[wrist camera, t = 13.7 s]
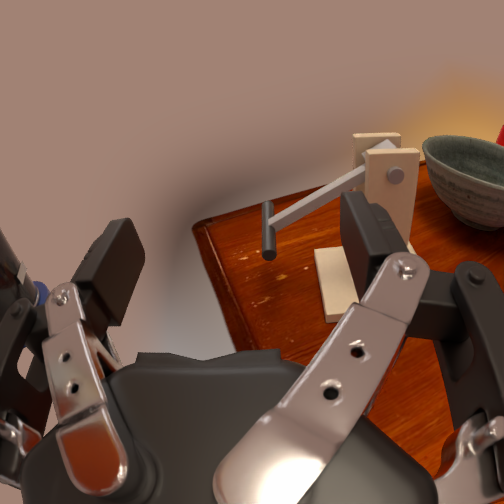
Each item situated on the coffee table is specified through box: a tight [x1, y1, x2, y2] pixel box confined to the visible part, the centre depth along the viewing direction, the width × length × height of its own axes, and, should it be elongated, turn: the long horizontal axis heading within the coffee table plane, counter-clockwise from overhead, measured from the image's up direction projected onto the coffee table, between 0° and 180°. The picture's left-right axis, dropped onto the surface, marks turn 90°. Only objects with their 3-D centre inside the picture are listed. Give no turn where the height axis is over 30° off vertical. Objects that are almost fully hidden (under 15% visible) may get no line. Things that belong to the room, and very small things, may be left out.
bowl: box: [422, 135, 504, 231], centre depth 36 cm, size 21×21×10 cm
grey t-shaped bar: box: [262, 139, 397, 261], centre depth 26 cm, size 14×8×2 cm, turn 89°
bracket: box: [314, 133, 420, 323], centre depth 28 cm, size 12×10×16 cm
